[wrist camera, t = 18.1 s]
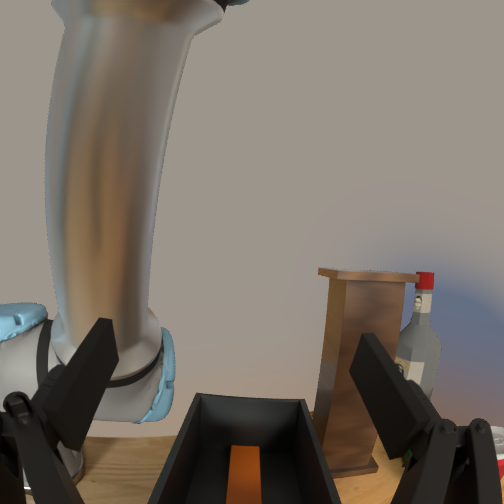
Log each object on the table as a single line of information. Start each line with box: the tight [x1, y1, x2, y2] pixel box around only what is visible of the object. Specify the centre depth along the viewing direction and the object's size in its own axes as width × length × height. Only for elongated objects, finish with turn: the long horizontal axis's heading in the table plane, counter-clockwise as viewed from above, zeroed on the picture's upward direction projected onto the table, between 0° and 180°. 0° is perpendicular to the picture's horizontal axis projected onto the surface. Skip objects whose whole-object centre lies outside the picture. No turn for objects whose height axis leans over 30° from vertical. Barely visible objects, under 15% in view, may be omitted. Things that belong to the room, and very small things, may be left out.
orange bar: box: [226, 445, 262, 504], centre depth 26 cm, size 4×20×2 cm, turn 0°
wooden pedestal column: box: [312, 268, 420, 478], centre depth 36 cm, size 11×10×30 cm
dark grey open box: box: [147, 393, 341, 504], centre depth 26 cm, size 16×24×11 cm, turn 179°
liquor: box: [395, 272, 442, 400], centre depth 47 cm, size 9×9×30 cm
